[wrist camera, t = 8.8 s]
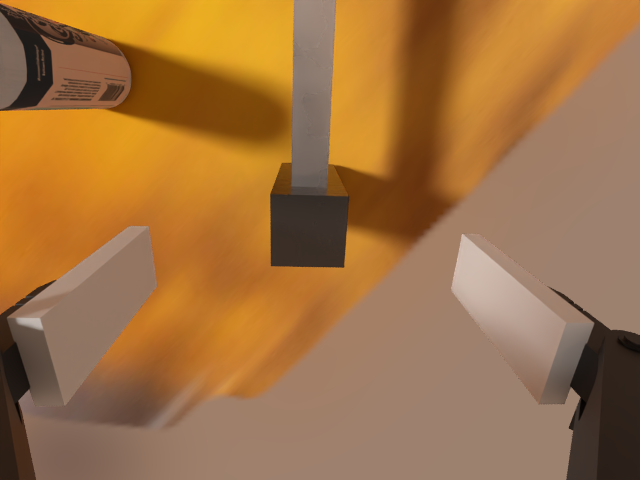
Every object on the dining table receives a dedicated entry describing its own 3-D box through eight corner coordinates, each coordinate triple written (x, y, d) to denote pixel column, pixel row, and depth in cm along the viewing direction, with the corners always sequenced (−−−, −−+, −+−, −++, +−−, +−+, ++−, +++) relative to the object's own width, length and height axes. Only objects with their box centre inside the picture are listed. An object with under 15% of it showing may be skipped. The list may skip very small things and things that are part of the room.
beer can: (122, 30, 25) (-25, -29, 14) (143, 103, 27) (28, 102, 16) (54, 41, 25) (-146, -10, 14) (79, 113, 27) (-81, 119, 16)
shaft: (283, -183, 21) (265, -428, 11) (351, -177, 22) (391, -413, 12) (281, 212, 30) (270, 266, 20) (330, 213, 30) (343, 267, 20)
